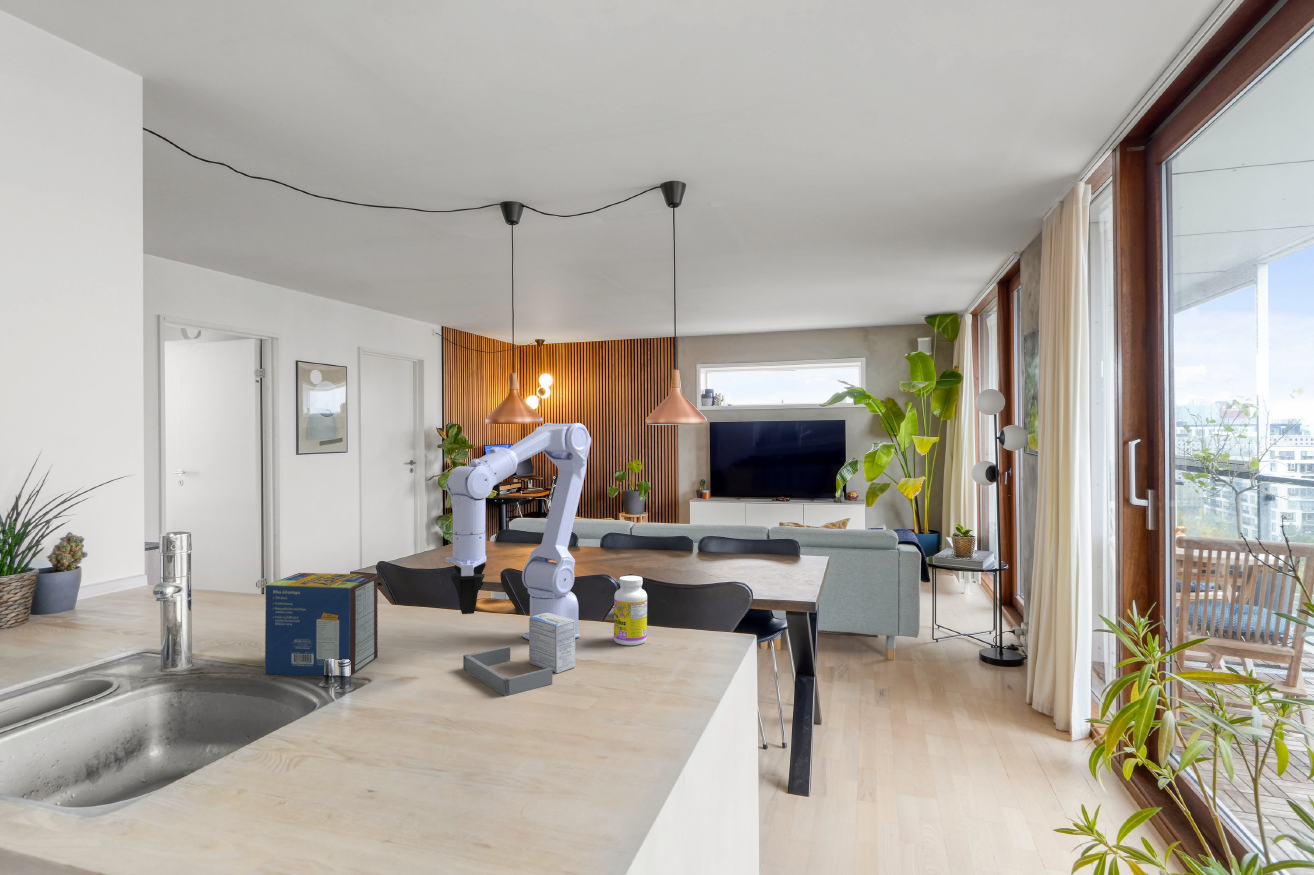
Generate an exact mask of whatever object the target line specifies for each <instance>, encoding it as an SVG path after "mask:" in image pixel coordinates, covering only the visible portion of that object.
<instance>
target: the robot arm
mask: <svg viewBox="0 0 1314 875" xmlns="http://www.w3.org/2000/svg"><path fill="white" fill-rule="evenodd" d="M591 443H592V438H591V436H590V434H589V431H588V429H587V428H586V426H585V425H584V424H582V423H580V422H575V423H551V422H546V423H544V424H543V423H542V425H541V426H540V425H539V426H536V427H535V430H534V431H533V432H532V433H529V434H528V435H527V436H525V437H524V438H523V439H521V440H519V441H518V442H516V443H515V444H513V445H512V446H510V447H509V448H507V447H503V446H493V447H491V448H489V449H488V451H489V452H488V453H486V454H485V455H483V456H481V457H479V458H473V459H471V460H470V463H469V464H468V466H467V465H465V466H463V465H460V466H457V467H455V468H454V469H452V471H451V472H450V474H449V476H448V478H447V480H446V481H445V483H444V486H445V489H446V491H447V493H448V495H449V496H450V504H451V506H452V556H446V557H445V563H451V564H453V565H454V569H455V571H456V573H455V572H454V573H452V572H451V574H450V579H451V582H452V583H453V585H454V587H455V590H456V593H457V598H458V603H459V608H460V613H461V615H473V614H475V612H476V606H477V603H478V602H477V601H478V594H479V591H480V587H481V584H482V582H483V580H484V578H485V573H483V571H484V570H485V568H486V562H487V555H486V498H488V496H490V494H491V492H492V491H493V488H494V486H496V485H498V484H499V483H500V482H502V481H504V480H506V479H507V478H509V477H510V476H512V475H514V474H515V473H516V471H517V469H518V464H520V463H522V462H523V461H526V460H528V459H530V458H531V457H534V456H535V455H537V454H539V453H541V452H543V453H544V455H545V456H546V457H547V458H548V459H549V460H550V461H551V463H552V464H554V465H556V467H557V469H558V475H557V478H556V482H555V486H554V491H553V495H552V500H551V504H550V508H549V512H548V515H547V519H546V524H545V528H544V532H543V536H542V539H541V540H542V541H541V543H540V544H539V545H538V546H537V547H535V548H534V549H533V550H532V551H531V552H530V555H529V558H528V560H527V562H526V563H525V565H524V567H523V569H522V572H521V580H522V581H521V582H522V583H523V586H524V587H525V588H526V589H527V594H529V618H530V617H532V616H535V615H539V614H543V613H551V614H555V615H559V616H562V617H566V618H569V619H573V620H574V621H575V639H577V638H580V637H581V634H580V633H579V602H578V599H577V596H576V595H575V593H574V592H572V591H571V589H572V588H573V586H574V584H575V564H576V560H575V557H573V555H572V554H571V553H570V551H569V549H568V548H569V545H570V540H571V536H572V532H573V526H574V522H575V518H576V515H577V510H578V506H579V502H580V498H581V494H582V489H583V485H584V480H585V477H586V472H587V466H588V465H587V462H588V461H587V460H588V455H589V452H590V448H591ZM553 561H554V562H553ZM520 635H521V637H522V638H524V639H527V640H529V632H524V633H521V634H520Z"/></svg>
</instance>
